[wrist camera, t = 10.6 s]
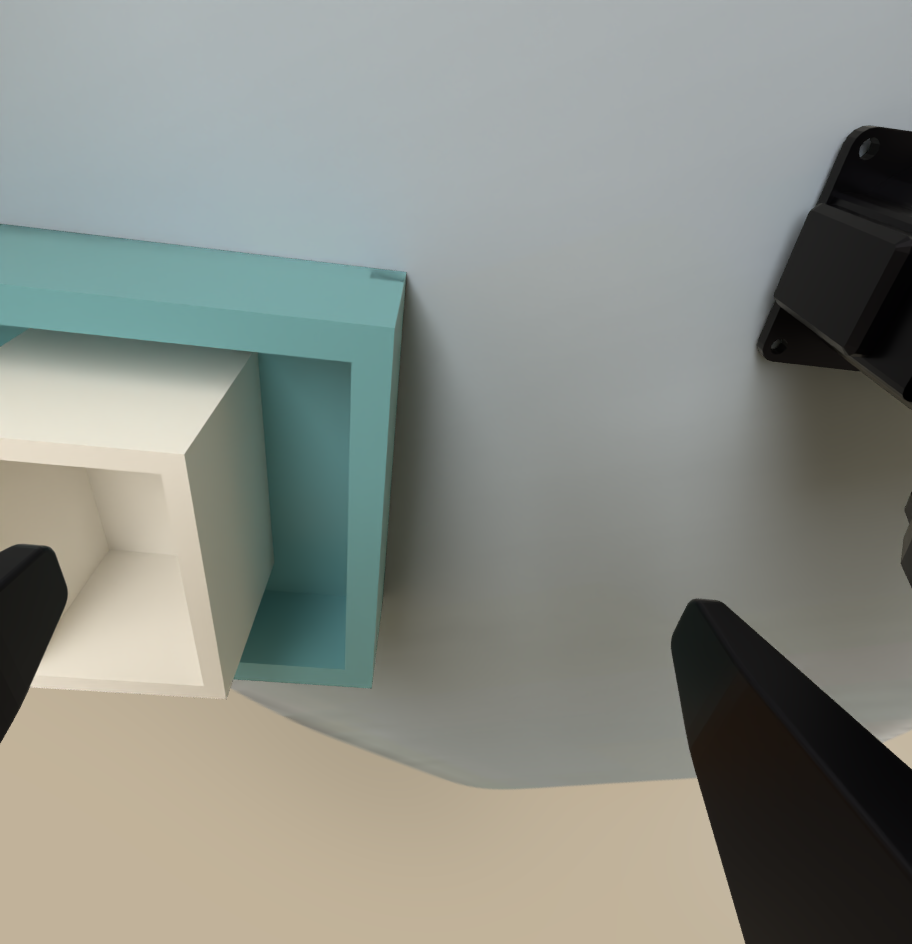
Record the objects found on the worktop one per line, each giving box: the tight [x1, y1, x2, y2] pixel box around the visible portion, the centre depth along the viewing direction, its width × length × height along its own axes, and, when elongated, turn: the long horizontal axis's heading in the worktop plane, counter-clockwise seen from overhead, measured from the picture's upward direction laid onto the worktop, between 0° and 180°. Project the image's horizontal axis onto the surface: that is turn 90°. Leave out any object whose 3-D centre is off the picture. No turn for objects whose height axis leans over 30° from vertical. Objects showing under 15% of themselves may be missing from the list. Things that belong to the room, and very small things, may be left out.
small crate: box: [0, 328, 274, 699], centre depth 18 cm, size 6×9×6 cm
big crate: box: [0, 224, 406, 688], centre depth 19 cm, size 15×14×4 cm
